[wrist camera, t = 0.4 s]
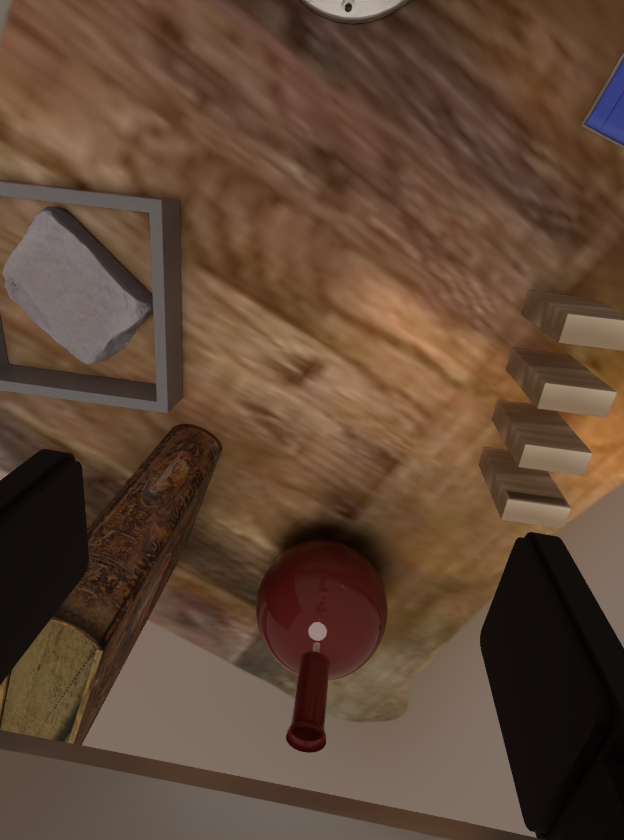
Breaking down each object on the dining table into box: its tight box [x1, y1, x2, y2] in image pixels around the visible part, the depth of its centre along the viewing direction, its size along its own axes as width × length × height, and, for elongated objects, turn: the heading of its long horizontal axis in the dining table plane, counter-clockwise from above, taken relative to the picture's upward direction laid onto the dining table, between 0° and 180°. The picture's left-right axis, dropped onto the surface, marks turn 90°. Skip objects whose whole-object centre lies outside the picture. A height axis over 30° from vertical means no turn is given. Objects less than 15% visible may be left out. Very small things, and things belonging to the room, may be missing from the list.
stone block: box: [3, 207, 153, 364], centre depth 44 cm, size 12×5×10 cm
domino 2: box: [506, 348, 617, 417], centre depth 39 cm, size 2×5×9 cm, turn 84°
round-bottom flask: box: [256, 540, 387, 752], centre depth 46 cm, size 13×13×20 cm
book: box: [0, 424, 222, 745], centre depth 42 cm, size 16×6×25 cm, turn 157°
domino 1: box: [522, 291, 624, 351], centre depth 37 cm, size 2×5×9 cm, turn 84°
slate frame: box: [0, 180, 183, 413], centre depth 43 cm, size 18×19×4 cm
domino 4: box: [479, 447, 571, 528], centre depth 43 cm, size 2×5×9 cm, turn 84°
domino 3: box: [492, 400, 593, 476], centre depth 41 cm, size 2×5×9 cm, turn 84°
